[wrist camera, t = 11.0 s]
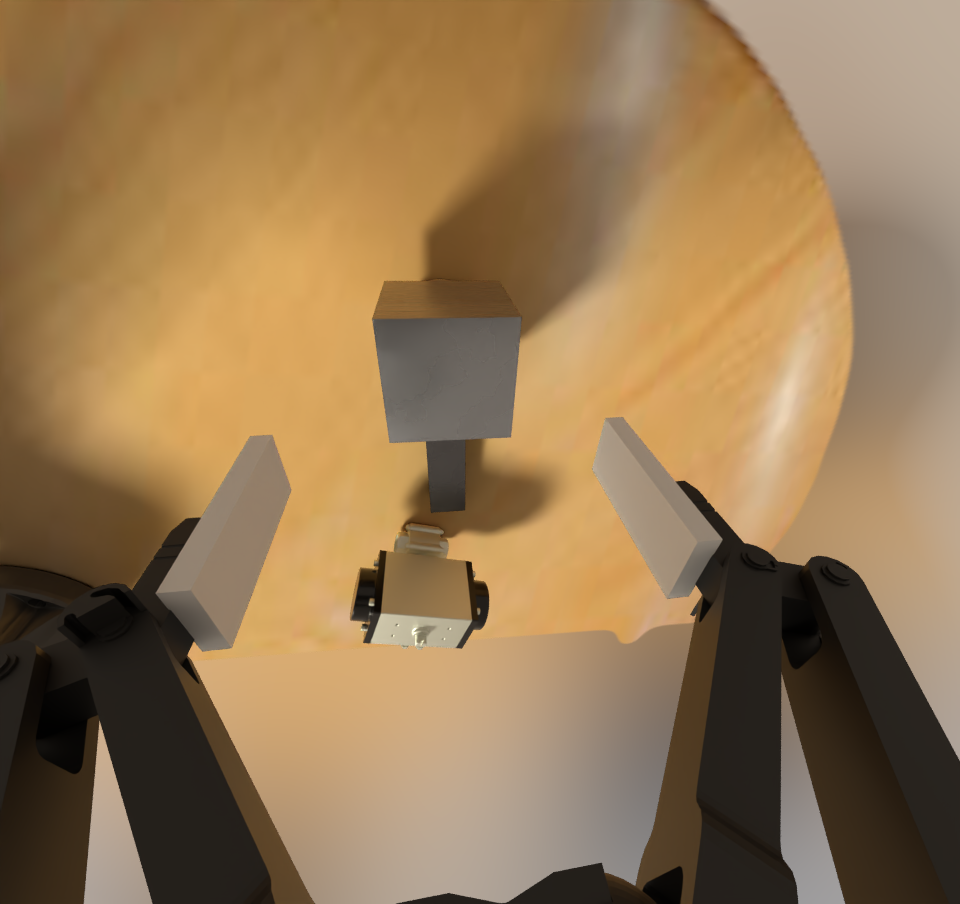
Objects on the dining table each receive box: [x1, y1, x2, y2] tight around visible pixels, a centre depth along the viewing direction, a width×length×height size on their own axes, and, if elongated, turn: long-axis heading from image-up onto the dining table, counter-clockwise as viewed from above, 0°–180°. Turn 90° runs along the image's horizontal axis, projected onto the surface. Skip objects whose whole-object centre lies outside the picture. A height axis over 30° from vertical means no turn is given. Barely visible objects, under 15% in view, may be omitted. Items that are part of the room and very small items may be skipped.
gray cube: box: [372, 281, 522, 443], centre depth 23 cm, size 7×7×7 cm
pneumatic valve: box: [350, 523, 489, 650], centre depth 37 cm, size 6×12×12 cm, turn 70°
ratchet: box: [426, 279, 465, 513], centre depth 30 cm, size 6×20×7 cm, turn 179°
